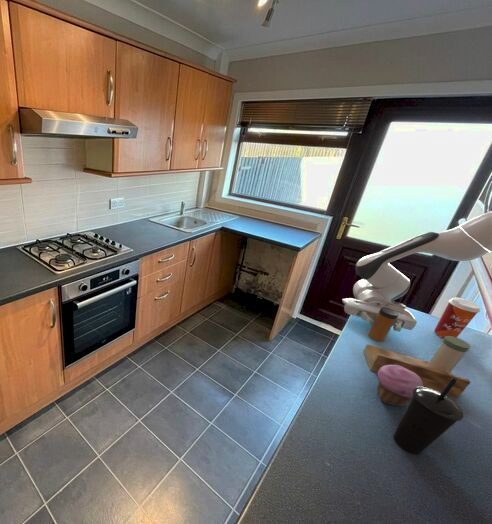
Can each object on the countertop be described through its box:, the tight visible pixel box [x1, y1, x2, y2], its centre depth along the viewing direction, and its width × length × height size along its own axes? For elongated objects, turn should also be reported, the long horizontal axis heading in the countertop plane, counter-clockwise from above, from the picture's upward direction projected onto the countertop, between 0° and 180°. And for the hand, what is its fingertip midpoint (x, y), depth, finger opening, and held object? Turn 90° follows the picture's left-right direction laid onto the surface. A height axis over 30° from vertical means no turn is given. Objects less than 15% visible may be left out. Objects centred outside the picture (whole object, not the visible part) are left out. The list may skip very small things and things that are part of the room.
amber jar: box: [367, 307, 399, 343], centre depth 95 cm, size 5×5×11 cm
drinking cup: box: [392, 378, 465, 455], centre depth 59 cm, size 8×8×20 cm
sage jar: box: [426, 336, 471, 374], centre depth 78 cm, size 5×5×11 cm
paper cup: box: [433, 296, 481, 339], centre depth 98 cm, size 8×8×14 cm
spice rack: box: [362, 344, 471, 399], centre depth 82 cm, size 20×9×6 cm, turn 65°
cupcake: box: [376, 365, 424, 407], centre depth 72 cm, size 9×9×10 cm
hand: (383, 325), depth 94 cm, fingers open, 6 cm apart
